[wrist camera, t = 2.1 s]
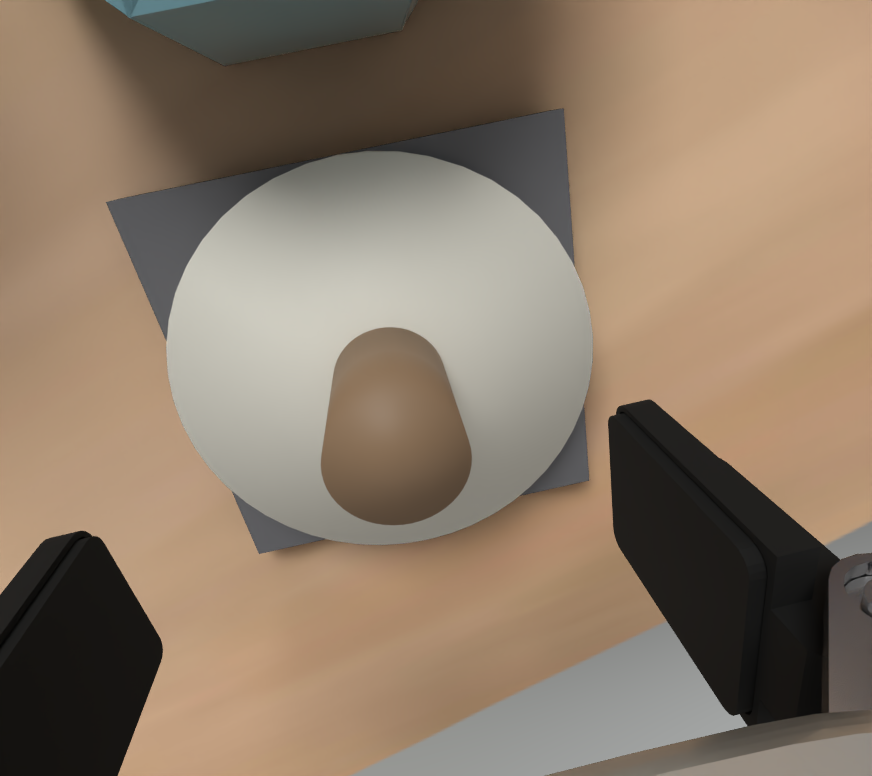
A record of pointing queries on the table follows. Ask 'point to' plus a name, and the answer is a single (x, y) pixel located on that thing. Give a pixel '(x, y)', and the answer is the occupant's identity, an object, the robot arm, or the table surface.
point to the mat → (469, 147)
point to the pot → (265, 24)
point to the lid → (379, 348)
